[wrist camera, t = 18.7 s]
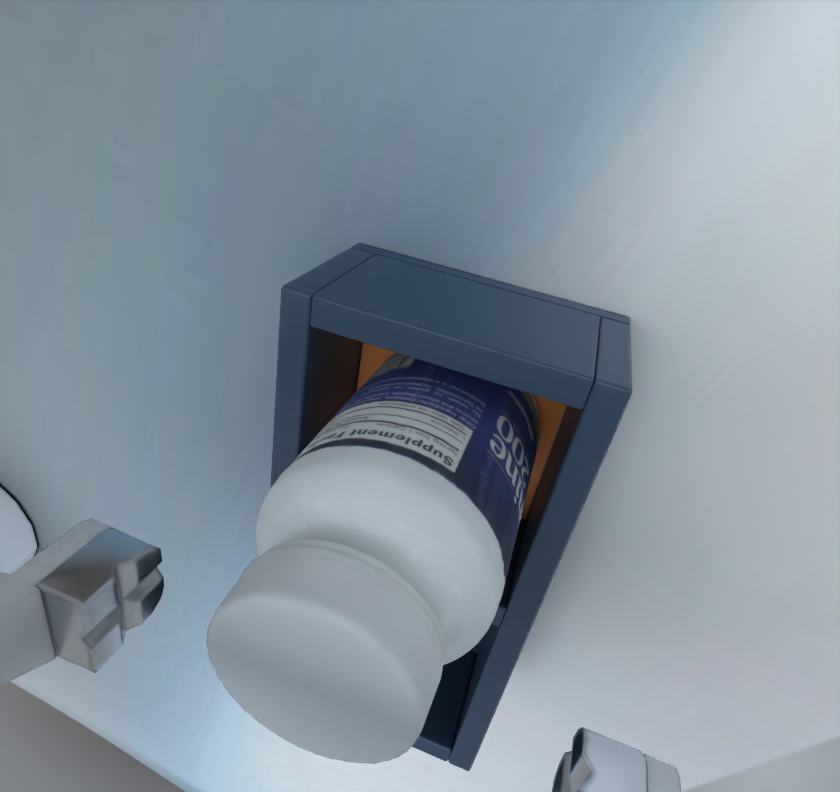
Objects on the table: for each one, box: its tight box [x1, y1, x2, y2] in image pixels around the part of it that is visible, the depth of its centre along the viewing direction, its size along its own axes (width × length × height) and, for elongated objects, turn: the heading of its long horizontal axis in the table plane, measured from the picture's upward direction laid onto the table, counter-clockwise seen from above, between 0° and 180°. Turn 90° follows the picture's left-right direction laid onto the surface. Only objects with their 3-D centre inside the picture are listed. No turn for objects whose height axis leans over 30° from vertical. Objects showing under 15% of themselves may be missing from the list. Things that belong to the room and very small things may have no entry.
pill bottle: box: [206, 352, 540, 763], centre depth 14 cm, size 5×5×10 cm
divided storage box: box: [271, 243, 632, 771], centre depth 18 cm, size 8×15×5 cm, turn 170°
